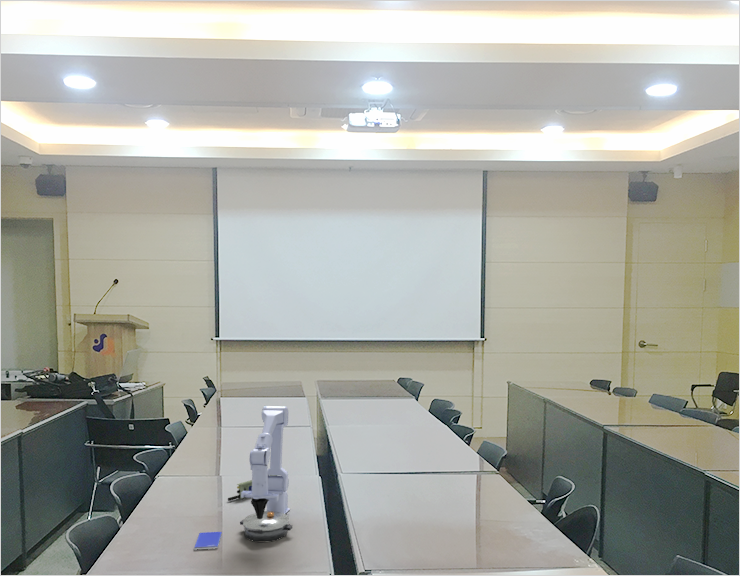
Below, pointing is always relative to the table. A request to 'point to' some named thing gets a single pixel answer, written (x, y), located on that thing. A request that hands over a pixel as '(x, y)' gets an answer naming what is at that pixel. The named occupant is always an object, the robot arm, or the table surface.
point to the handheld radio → (243, 489)
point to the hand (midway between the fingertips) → (260, 518)
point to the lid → (265, 522)
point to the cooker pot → (267, 534)
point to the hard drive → (208, 540)
